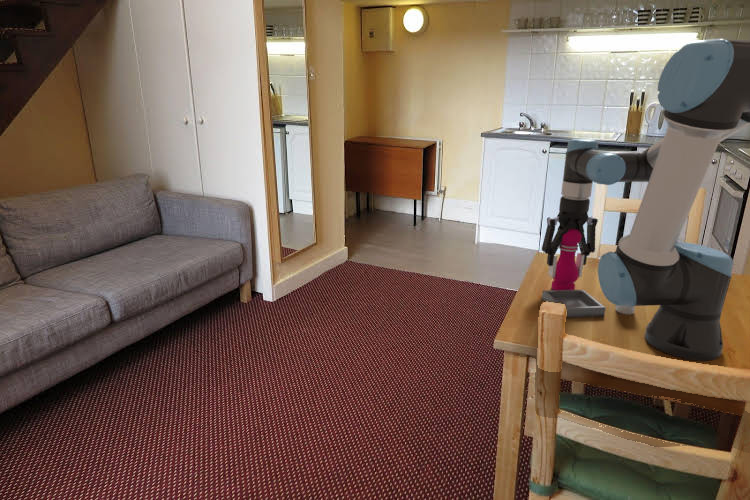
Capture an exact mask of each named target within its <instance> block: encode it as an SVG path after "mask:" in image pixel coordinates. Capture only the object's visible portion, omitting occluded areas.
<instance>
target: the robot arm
mask: <svg viewBox="0 0 750 500" xmlns="http://www.w3.org/2000/svg"><path fill="white" fill-rule="evenodd" d="M657 91H658V92H659V93H658V94H657V101H658V103H659V105H660V106H661V108H662V109H664V111H663V114H662V117H663V118H664V120H665V122H666V123H667V126H668V127H667V129H666V132H665V135H664V137H662V138H661V139H659V140H658V141H656V142H655V143H654V144H652V145H651V146H650V147H648V148H647V149H645V150H642V151H641V150H638V151H637V150H634V151H627V150H626V151H625V150H624V151H623V150H622V151H617V150H614V151H613V150H612V151H605V150H599V143H598V141H597V140H596V139H593V138H592V139H591V138H572V139H570V140H569V141H568V142H567V148H566V151H565V160H564V166H563V167H564V169H563V175H562V176H563V178H562V184H561V193H560V194H561V197H560V200H559V208H558V211H559V212H558V214H557V216H554V217H551V216H549V217H547V218H546V223H547V224H546V225H547V227H546V230H545V233H544V237H543V242H542V245H541V251H542V252H543V253H545V254H547V259H546V264H547V265H548V270H547V271H548V273H547V275H548V276H550V277H551V278H552V279H553V278H555V272H556V264H557V261H558V255H557V254H556V253H557V251H558V249H560V248H559V246H560V244H561V242H562V238H563V235H564V234H567V232H568V230H569V229H577V230H579V232H580V233H581V235H582V238H581V241H580V242H579V243H578V244H577V245H578V249H579V251H580V252H576V258H575V263H576V266H577V269H578V278H582V275H583V269H584V266H586V264H587V260H588V259H587V258H588V256H590V255H591V253H592V254H593V253H595V252H596V231H597V230H596V227H597V224H598V222H599V219H598V218H597V217H594V216H589V214H588V213H589V210H590V205H591V204H590V202H591V200H590V198H591V196H592V190H593V189H592V188H593V182H594V183H596V184H598V185H606V186H611V185H614V184H617V183H647V185H646V188H645V191H644V193H643V196H642V199H641V202H640V204H639V208H638V210H637V213H636V215H635V219H634V222H633V224H632V227H631V229H630V232H629V234H627V235H624V236H622V237H621V238H620V239H619V241H618V242H617V246H616V247H615V248H616V249H615V251H608V252H605V253H604V254H602V255H601V256H600V258H599V260H598V266H597V267H598V268H597V276H598V277H597V278H598V283H599V286H600V289H601V292H602V293H603V295H604V297H605V299H607V300H608V302H610V303H611V304H612V305H615V306H616V305H618V306H629V307H633V306H635V307H637V306H639V307H641V306H644V307H645V306H646V307H647V306H659V307H658V309H657V310H656V312H655V313H654V315H653V317H652V319H651V320H650V321H649V323H648V324H647V325H646V327H645V328H646V329H645V333H644V338H645V340H646V342H647V343H649V345H651V346H652V347H653V348H655V349H656V350H659V351H660V352H662V353H665V354H668V355H670V356H673V357H677V358H680V359H684V360H689V361H690V360H691V361H697V362H698V361H700V362H701V361H702V362H703V361H704V362H705V361H707V362H708V361H712V360H716V359H719V358H720V357H721V356H722V352H723V348H724V342H723V334H722V328H721V327H722V326H721V322H720V321H721V316H722V312H723V309H724V304H725V300H726V298H727V293H728V290H729V286H730V282H731V279H732V278H733V274H732V271H733V267H734V260H733V258H732V257H731V256H730V255H729V254H728V253H725V252H723V251H721V250H719V249H716V248H712V247H710V246H706V245H702V244H698V243H697V244H696V243H693V242H686V241H678V240H679V238H680V235H682V234H681V233H682V232H683V228H684V227H685V223H686V221H687V220H688V217H689V215H690V212H691V210H692V207H693V205H694V203H695V200H696V199H697V195H698V193H699V190H700V188H701V186H702V183H703V182H704V179H705V176H706V174H707V172H708V170H709V167H710V164H711V162H712V160H713V157H714V156H715V154H716V151H717V148H718V145H719V143H721V142H723V141H724V140H726V139H728V138H730V137H731V136H733V135H735V134H736V133H739V131H741V130H743V129H745V128H747V127H749V126H750V39H733V38H732V39H731V38H729V39H728V38H711V39H700V40H694V41H691V42H689V43H686V44H685V45H683V46H682V47H681V48H680V49H678V50H676V51H675V52H674V53H673V54H672V56H671V57H670V58H669V59H668V60H667V62H666V63H665V66H664V68H663V69H662V71H661V74H660V76H659V79H658V84H657ZM558 223H559V225H558ZM585 224H586V236H585V228H584V225H585ZM557 225H558V227H557V231H556V226H557ZM555 231H556V234H555ZM554 234H555V235H554Z"/></svg>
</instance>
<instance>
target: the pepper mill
mask: <svg viewBox="0 0 750 500" xmlns="http://www.w3.org/2000/svg"><path fill="white" fill-rule="evenodd" d="M581 238H582V235H581V233H580V232H579V230H577V229H569V230H568V232H567V234H564V235H563V238H562V242H561V244H560V246H559V248H558V249H559V250H560V252H559V256H558V258H557V264H556V272H555V278H552V279H553V280H552V282H551V289H552V290H576V289H575V288H576V284H575V283H576V281H577V280H579V277H578V269H577V266H576V254H577V251H578V249H579V244H578V243H579V242H580V241H581Z"/></svg>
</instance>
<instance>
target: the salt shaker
mask: <svg viewBox="0 0 750 500" xmlns="http://www.w3.org/2000/svg"><path fill="white" fill-rule="evenodd" d="M635 307H636V306H633V307H629V306H618V305H615V311H616V312H617V313H620V314H623V315H633V314H634V313H635Z"/></svg>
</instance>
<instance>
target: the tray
mask: <svg viewBox="0 0 750 500" xmlns="http://www.w3.org/2000/svg"><path fill="white" fill-rule="evenodd" d="M541 294H542V295H541V300H542V301H543V302H544V301H548V302H554V303H561V304H565V306H566V309H567V317H566V318H588V317H589V318H590V317H591V318H592V317H594V318H595V317H596V318H597V317H605V313H606V306H605V305H603V304H602V303H600V301H599V300H597V299H596V298H595V297H593V296H592V295H591V294H590V293H588V292H587V291H586V290H584V289H575V290H553V289H552V290H542V293H541Z"/></svg>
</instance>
